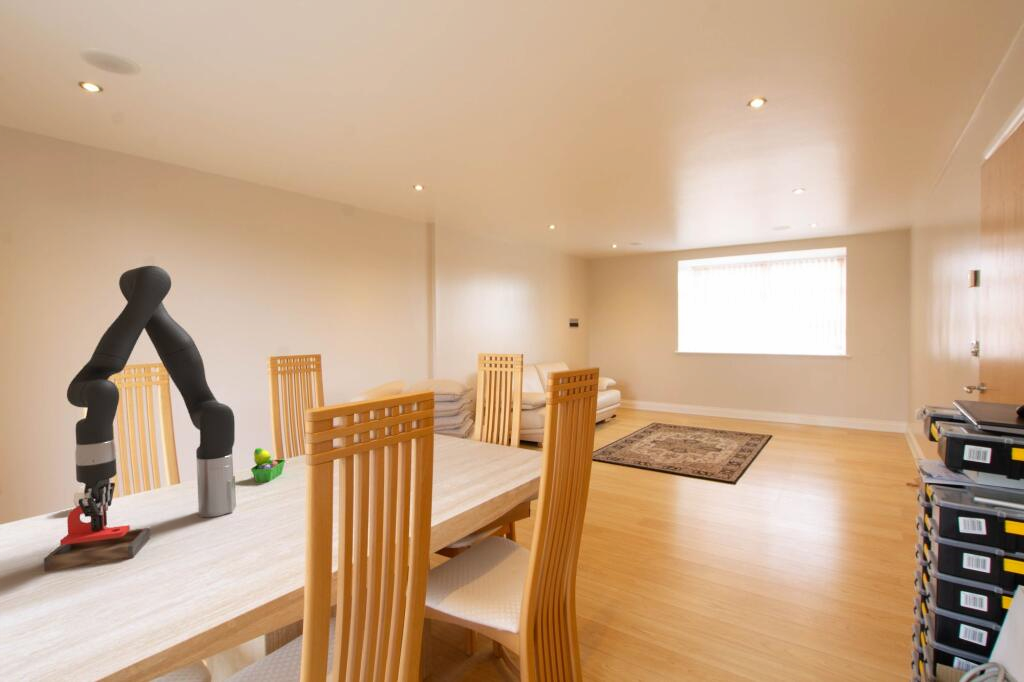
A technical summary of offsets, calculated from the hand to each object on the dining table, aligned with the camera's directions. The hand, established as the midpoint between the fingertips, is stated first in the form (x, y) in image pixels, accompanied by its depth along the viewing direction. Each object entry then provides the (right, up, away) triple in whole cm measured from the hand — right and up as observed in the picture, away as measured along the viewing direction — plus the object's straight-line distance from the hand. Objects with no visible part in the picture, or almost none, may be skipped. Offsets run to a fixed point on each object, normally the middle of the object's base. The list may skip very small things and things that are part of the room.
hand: (99, 528), depth 119 cm
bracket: (+1, -2, -2) cm, 2 cm away
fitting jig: (0, -6, 0) cm, 6 cm away
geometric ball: (-29, -6, +30) cm, 42 cm away
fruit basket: (+12, -4, +58) cm, 59 cm away
